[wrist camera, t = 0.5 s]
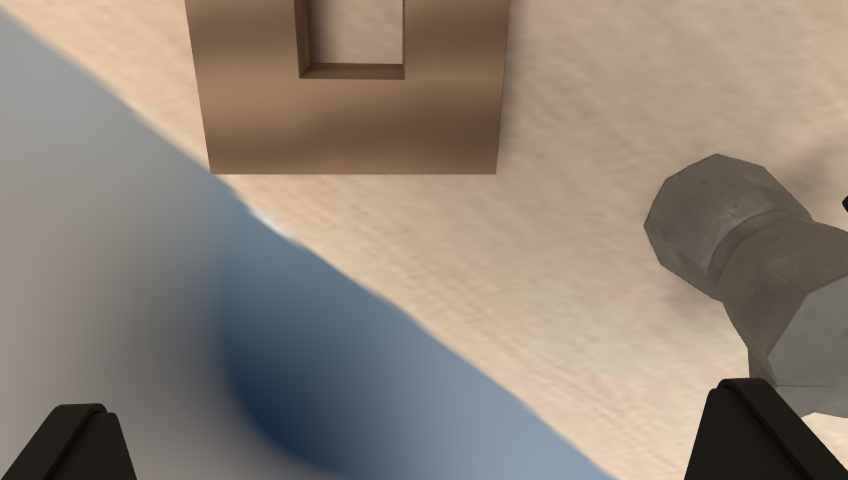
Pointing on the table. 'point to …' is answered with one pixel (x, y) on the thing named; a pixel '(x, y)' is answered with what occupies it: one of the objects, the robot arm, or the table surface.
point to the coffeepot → (763, 274)
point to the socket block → (349, 91)
